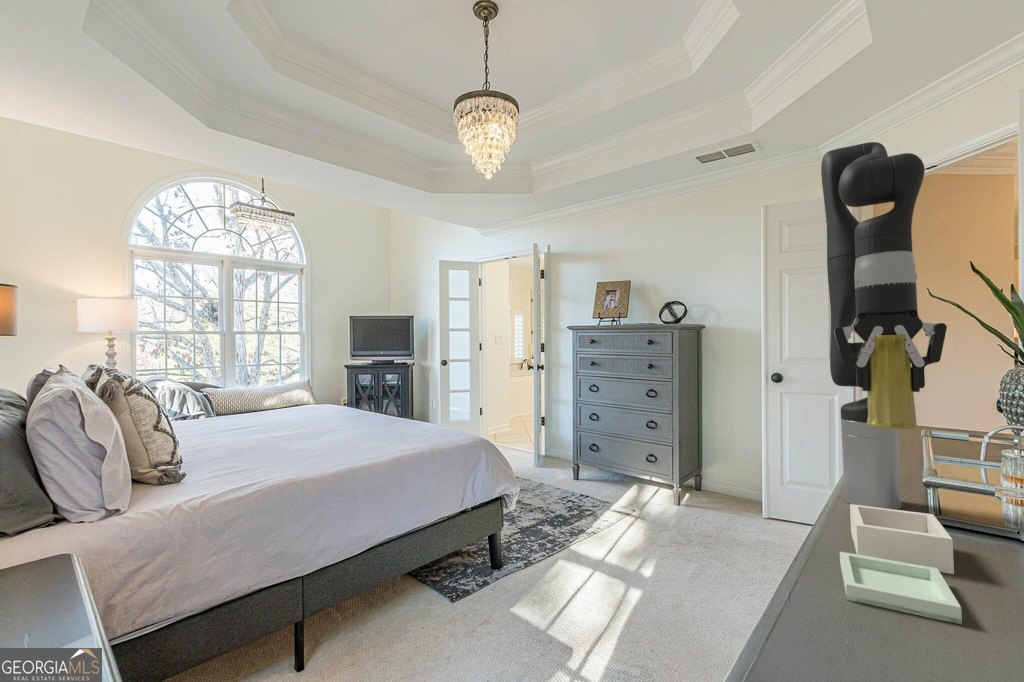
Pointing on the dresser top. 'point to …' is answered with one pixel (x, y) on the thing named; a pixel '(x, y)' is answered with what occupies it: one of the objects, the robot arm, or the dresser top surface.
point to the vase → (890, 384)
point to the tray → (899, 587)
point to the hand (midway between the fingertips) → (889, 390)
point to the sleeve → (901, 537)
